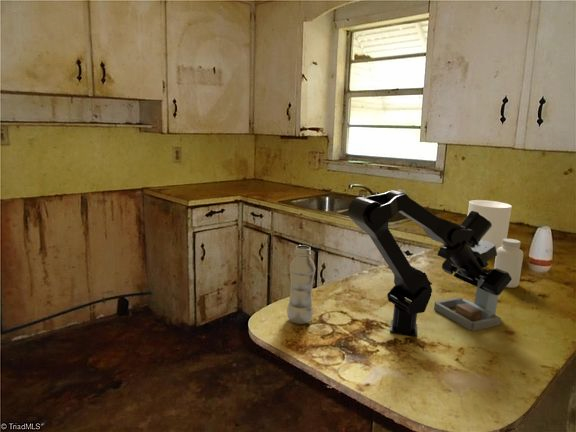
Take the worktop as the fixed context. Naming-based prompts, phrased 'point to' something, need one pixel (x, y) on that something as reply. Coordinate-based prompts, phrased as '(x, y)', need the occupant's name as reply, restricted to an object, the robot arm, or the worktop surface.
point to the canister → (493, 219)
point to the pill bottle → (510, 260)
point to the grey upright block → (484, 302)
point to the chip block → (468, 311)
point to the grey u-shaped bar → (476, 325)
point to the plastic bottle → (301, 286)
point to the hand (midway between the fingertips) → (487, 289)
